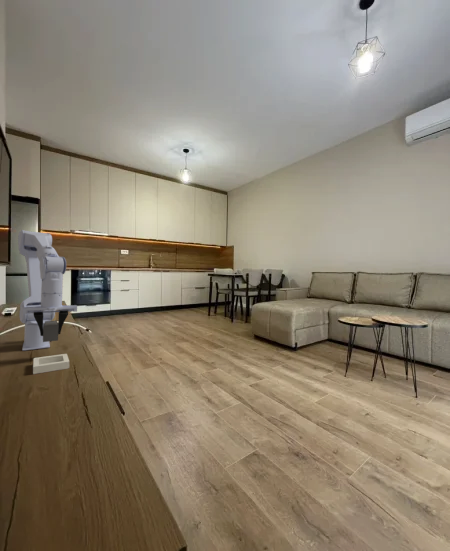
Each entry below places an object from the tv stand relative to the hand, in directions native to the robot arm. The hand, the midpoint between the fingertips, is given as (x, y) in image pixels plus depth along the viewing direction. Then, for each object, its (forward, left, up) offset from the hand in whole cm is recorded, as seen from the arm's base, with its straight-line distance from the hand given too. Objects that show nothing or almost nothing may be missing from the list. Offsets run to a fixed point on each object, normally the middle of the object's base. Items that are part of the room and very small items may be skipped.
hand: (50, 334), depth 83 cm
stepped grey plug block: (0, 0, -2) cm, 2 cm away
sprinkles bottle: (-24, +1, -8) cm, 25 cm away
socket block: (+10, 0, -8) cm, 12 cm away
